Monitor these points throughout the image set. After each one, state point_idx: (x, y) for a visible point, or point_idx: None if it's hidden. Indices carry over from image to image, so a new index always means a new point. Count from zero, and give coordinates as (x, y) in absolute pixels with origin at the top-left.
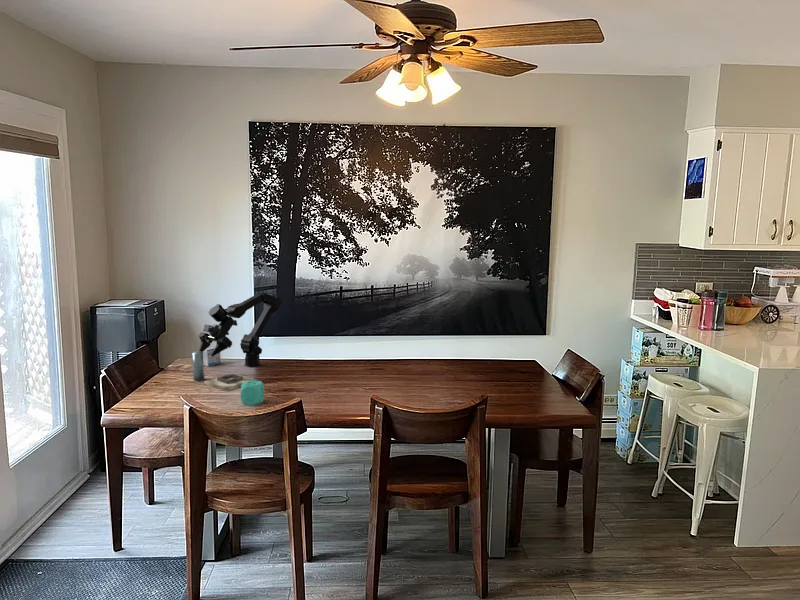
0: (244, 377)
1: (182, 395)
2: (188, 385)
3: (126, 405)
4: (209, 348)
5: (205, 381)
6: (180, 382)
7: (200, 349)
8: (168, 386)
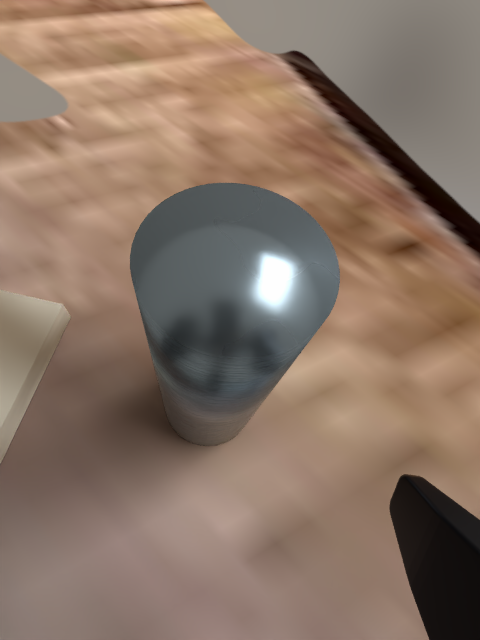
0: None
1: (62, 131)
2: None
3: (199, 20)
4: None
5: (48, 304)
6: None
7: (448, 526)
8: None
